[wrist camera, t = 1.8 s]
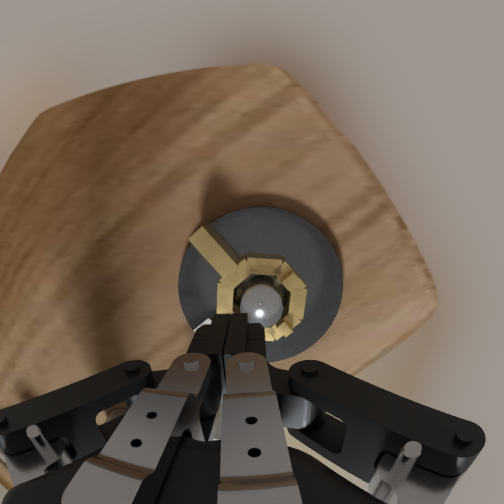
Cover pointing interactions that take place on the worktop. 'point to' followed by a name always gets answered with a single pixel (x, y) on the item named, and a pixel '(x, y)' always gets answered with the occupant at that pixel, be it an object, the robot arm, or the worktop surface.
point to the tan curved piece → (242, 267)
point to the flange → (268, 276)
